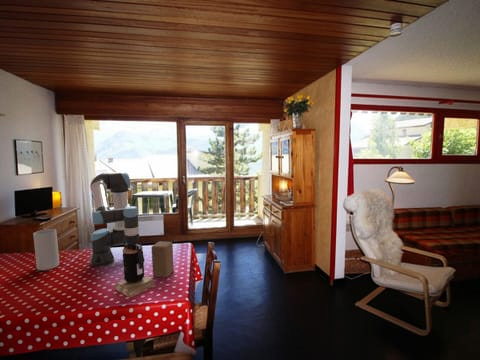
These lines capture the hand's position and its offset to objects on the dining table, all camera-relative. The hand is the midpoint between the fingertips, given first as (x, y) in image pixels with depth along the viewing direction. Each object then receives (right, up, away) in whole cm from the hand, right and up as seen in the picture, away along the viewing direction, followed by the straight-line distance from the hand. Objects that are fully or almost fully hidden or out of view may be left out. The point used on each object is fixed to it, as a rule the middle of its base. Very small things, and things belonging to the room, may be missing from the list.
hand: (134, 271), depth 145 cm
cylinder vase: (-72, -8, +30) cm, 79 cm away
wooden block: (+12, -8, +17) cm, 22 cm away
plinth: (0, -10, +1) cm, 10 cm away
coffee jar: (0, -5, 0) cm, 5 cm away
